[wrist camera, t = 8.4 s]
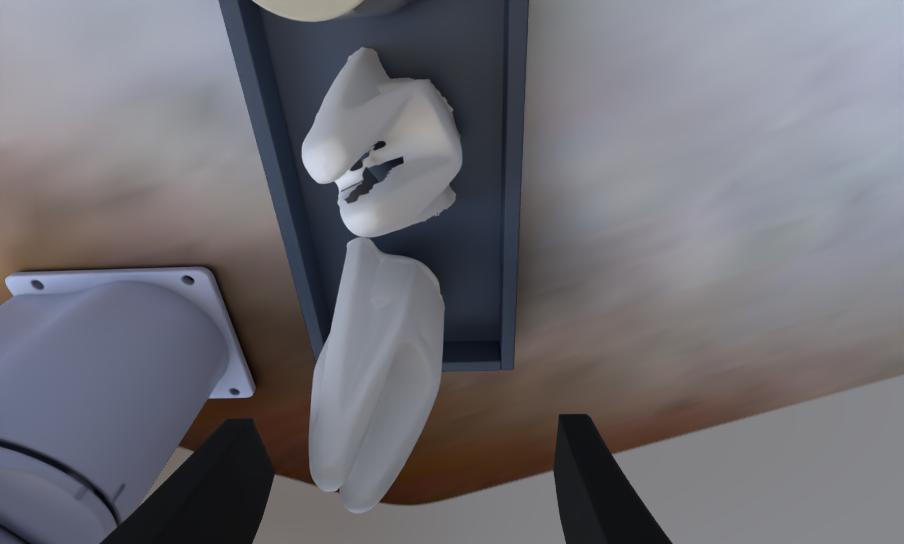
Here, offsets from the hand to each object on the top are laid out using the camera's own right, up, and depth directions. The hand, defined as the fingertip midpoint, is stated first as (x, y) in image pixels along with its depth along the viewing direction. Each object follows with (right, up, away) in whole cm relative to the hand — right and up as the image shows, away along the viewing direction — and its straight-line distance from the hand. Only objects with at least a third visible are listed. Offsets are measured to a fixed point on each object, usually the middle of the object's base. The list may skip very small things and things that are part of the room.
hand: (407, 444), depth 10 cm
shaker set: (-1, +7, +8) cm, 10 cm away
